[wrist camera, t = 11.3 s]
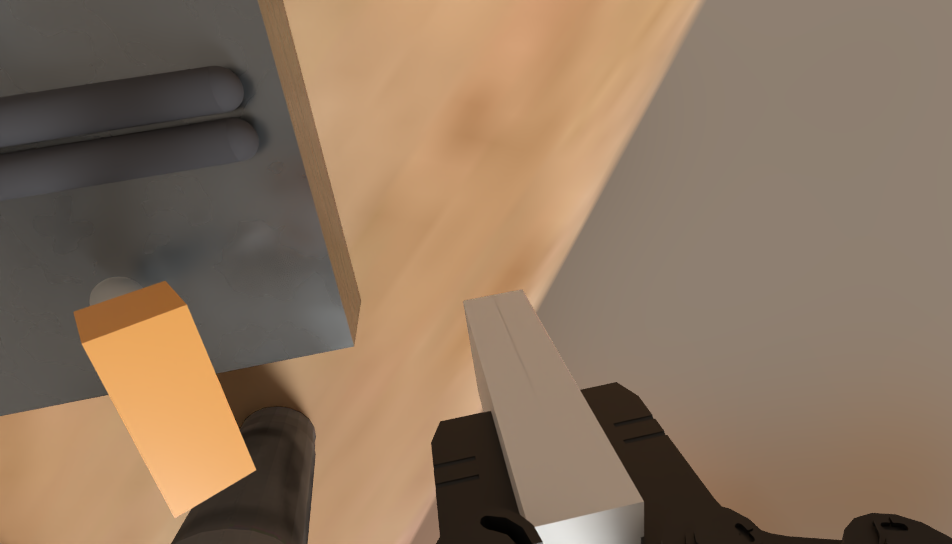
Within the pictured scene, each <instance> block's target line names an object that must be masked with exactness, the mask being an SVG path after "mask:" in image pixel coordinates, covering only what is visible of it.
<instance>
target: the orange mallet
mask: <svg viewBox="0 0 952 544" xmlns="http://www.w3.org/2000/svg"><path fill="white" fill-rule="evenodd" d="M89 301H90V306H89V307H86V308H83V309H80V310H77V311H74V312H73V313H74V317H75V320H76V324H77V328H78V332H79V336H80V340H81V344H82V346H83V347H84V349H85V351H86V353H87V355H88V357H89V359H90V361H91V362H92V364H93V366H94V368H95V370H96V372H97V374H98V376H99V377H100V379H101V381H102V383H103V385H104V387H105V389H106V391H107V392H108V394H109V396H110V398H111V400H112V402H113V404H114V406H115V407H116V409H117V411H118V413H119V415H120V417H121V419H122V420H123V422H124V424H125V426H126V428H127V430H128V432H129V434H130V435H131V437H132V439H133V441H134V443H135V445H136V447H137V449H138V450H139V452H140V454H141V456H142V458H143V460H144V462H145V464H146V465H147V467H148V469H149V471H150V473H151V475H152V477H153V479H154V480H155V482H156V484H157V486H158V488H159V490H160V492H161V494H162V495H163V497H164V499H165V501H166V503H167V505H168V507H169V508H170V510H171V512H172V514H173V516H174V518H176V517H178V516H180V515H181V514H183V513H185V512H186V511H188V510H190V509H192V508H193V507H195V506H197V505H198V504H200V503H202V502H203V501H205V500H207V499H208V498H210V497H212V496H213V495H215V494H217V493H219V492H220V491H222V490H224V489H225V488H227V487H229V486H230V485H232V484H234V483H235V482H237V481H239V480H240V479H242V478H244V477H246V476H247V475H249V474H251V473H252V472H254V471H256V468H255V466H254V463H253V461H252V459H251V456H250V454H249V452H248V449H247V447H246V444H245V442H244V440H243V437H242V435H241V432H240V430H239V428H238V425H237V423H236V421H235V418H234V416H233V413H232V411H231V409H230V406H229V404H228V401H227V399H226V397H225V394H224V392H223V390H222V387H221V385H220V382H219V380H218V378H217V375H216V373H215V371H214V368H213V366H212V363H211V361H210V359H209V356H208V354H207V351H206V349H205V347H204V344H203V342H202V340H201V337H200V335H199V332H198V330H197V328H196V325H195V323H194V320H193V318H192V316H191V313H190V311H189V309H188V306H187V304H186V303H185V302H184V301H183V300H182V299H181V298H180V297H179V295H178V294H177V293H176V292H175V291H174V290H173V289H172V288H171V287H170V285H169V284H168V283H167V282H166V281H163V282H160V283H157V284H154V285H151V286H148V287H145V288H142V286H141V285H140V284H138V283H137V282H136V281H134V280H132V279H130V278H126V277H112V278H108V279H105V280H103V281H101V282H100V283H98V284H97V285H96V286H95V287H94V289H93V290H92V292H91V294H90V300H89Z"/></svg>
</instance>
